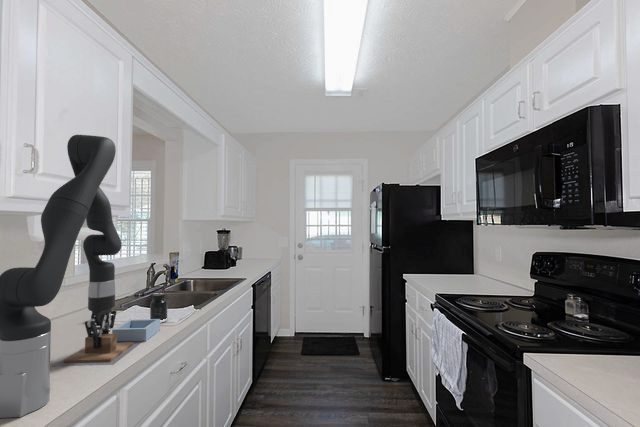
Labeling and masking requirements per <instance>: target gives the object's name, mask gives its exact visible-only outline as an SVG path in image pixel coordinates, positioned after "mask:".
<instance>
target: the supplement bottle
mask: <svg viewBox="0 0 640 427" xmlns="http://www.w3.org/2000/svg"><path fill="white" fill-rule="evenodd" d="M149 306H150V307H149V308H150V310H149V312H150V313H149V314H150V315H149V319H160V320H163V319H166V318H167V319H168V300H166V294H165V293H155V294H153V295H152V301H151V302H150V305H149Z"/></svg>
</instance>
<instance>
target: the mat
mask: <svg viewBox="0 0 640 427" xmlns="http://www.w3.org/2000/svg"><path fill="white" fill-rule="evenodd" d="M141 344H142V342H133V345H132V346H131V347H130V348H128V349H127V350H126V351H124V352H123V353H122V354H120V355H119V356H118V357H116V358H115V359H114V360H112V361H111V362H86V363H64V360H65V359H67V358H69V357H70V356H72V355H74V354H75V353H77V352H79V351H81V350H82V349H84V348H85V346H84V347H82V348H81V349H78V350H77V351H75V352H73V353H71V354H70V355H68V356H67V357H65V358H64V359H62V360H60V361H58V362H57V363H55V364H53V365H52V367H74V366H77V367H79V366H81V367H82V366H109V365H111V366H113V365H115V364H116V363H118V362H119V361H120V360H121V359H123V358H124V357H125V356H127V355H128V354H129V353H130V352H132V351H133V350H134V349H135V348H137V347H138V346H139V345H141Z"/></svg>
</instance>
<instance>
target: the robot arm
mask: <svg viewBox="0 0 640 427" xmlns="http://www.w3.org/2000/svg"><path fill="white" fill-rule="evenodd" d="M66 147H67V150H66V151H67V155H68V159H69V162H70V165H71V168H72V171H73V174H74V177H73V178H71V179H70V180H69V181H67V182H66V183H64V184H63V185H61V186H59V188H57V189H56V190H55V191H54V192H53V193H52V194H51V196H50V197H49V199H48V201H47V203H46V205H45V207H44V209H43V211H42V213H41V216H40V224H41V230H42V235H43V240H44V247H43V250H42V253H41V255H40V257H39V259H38V262H37V263H36V266H35V267H25V266H23V267H12V268H9V269H7V270H5V271H3V272H2V273H1V274H0V418H1V419H2V418H22V417H23V416H25V415H27V414H30V413H32V412H35V411H37V410H39V409H41V408H43V407H44V406H45V405H47V404H48V403H49V401H50V394H51V393H50V392H51V390H50V389H51V388H50V387H51V348H52V347H51V344H52V343H51V342H52V340H51V338H52V321H51V319H50V318H49V317H48V316H45V315H44V314H41V313H40V312H39V311H38V310H37V309H36V307H38V308H39V307H44V306H47V305H49V304H50V303H51V302H52V301H54V299H55V298H56V297H57V295H58V294H59V292H60V290H61V287H62V284H63V281H64V277H65V275H66V270H67V267H68V265H69V262H70V258H71V254H72V252H73V249H74V246H75V244H76V241H77V239H78V236H79V234H80V232H81V230H82V227H83V225H84V223H85V221H86V226H87V228H88V229H89V230H92V231H95V232H96V231H97V232H100V233H102V234H89V235H87V236H86V237H85V239H84V240H83V243H82V248H83V252H84V255H85V256H86V261H87V265H88V269H89V278H88V279H89V282H88V289H87V310H88V311H90V312H91V316H90V319H89V320H86V321H85V322H84V327H85V330H86V333H87V337H93V348H94V349H99V348H101V338H102V337H101V336H102V334H110V332H111V331H112V330H111V329H114V326H115V325H114V324H115V320H116V317H117V316H116V315H117V310H112V309H113V308H115V306H116V281H115V277H116V276H115V275H116V274H115V273H116V270H115V269H116V267H115V264H114V263H113V262H110V261H104V260H102V259H101V258H100V256H115V255H117V254H118V253H119V252H120V251H121V249H122V240H121V237H120V235H119V233H118V232H117V229H116V226H115V224H114V221H113V214H112V207H111V206H112V205H111V202H110V200H109V198H108V196H107V195H106V193H105V192H104V190H102V188H101V187H100V185H101V184H102V182H103V180H104V179H105V177H106V176H107V174H108V172H109V170H110V169H111V167H112V165H113V162H114V161H115V157H116V154H117V153H116V151H117V150H116V145H115V143H114V141H113V139H111V138H109V137H106V136H99V135H87V134H73V135H72V136H70V138H69V139H68V141H67V146H66Z"/></svg>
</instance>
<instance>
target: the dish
mask: <svg viewBox="0 0 640 427" xmlns="http://www.w3.org/2000/svg"><path fill="white" fill-rule="evenodd" d="M160 331H161V323H160V319H150V318H147V319H146V318H145V319H142V318H140V319H139V318H138V319H128V320H126V321H125V322H122V323H121V324H119V325H118V326H116V327H115V328H114V327H113V328H112V330H111V334H117V343H130V342H133V343H138V342H143V343H144V342H148V340H150V339H151V338H152V337H154V336H155V335H157V333H159V332H160Z"/></svg>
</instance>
